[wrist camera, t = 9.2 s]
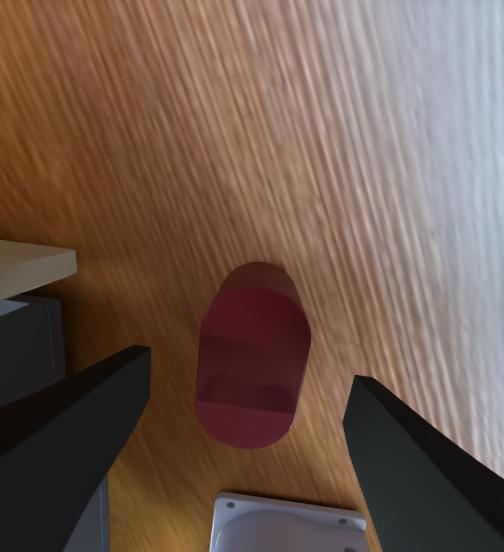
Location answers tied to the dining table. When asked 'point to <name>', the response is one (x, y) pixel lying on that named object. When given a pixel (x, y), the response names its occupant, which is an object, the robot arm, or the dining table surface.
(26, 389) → the drawer
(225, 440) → the red capsule case
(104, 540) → the cabinet
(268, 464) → the dining table surface
